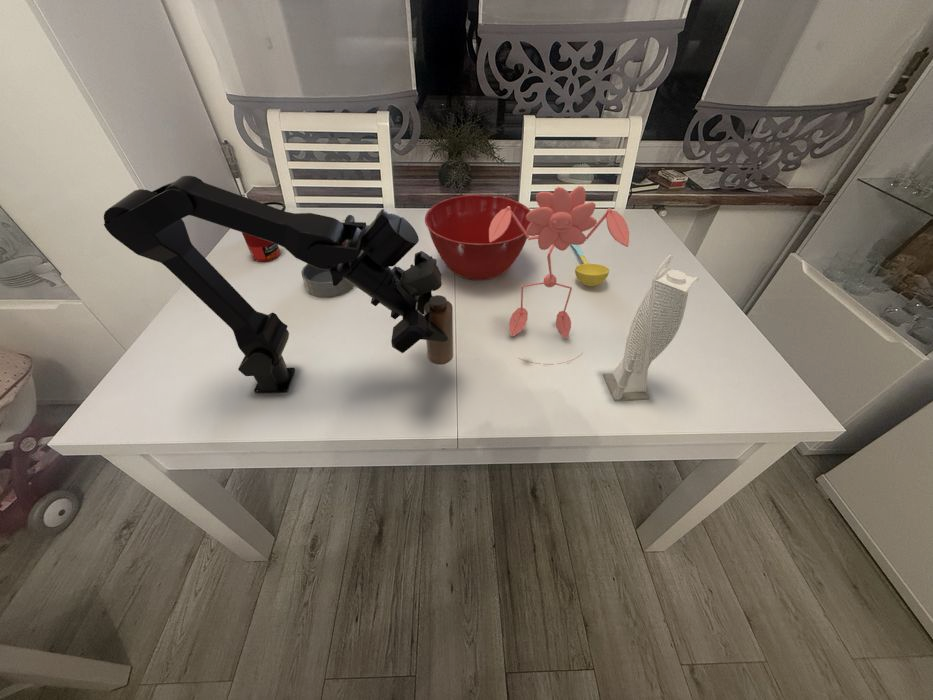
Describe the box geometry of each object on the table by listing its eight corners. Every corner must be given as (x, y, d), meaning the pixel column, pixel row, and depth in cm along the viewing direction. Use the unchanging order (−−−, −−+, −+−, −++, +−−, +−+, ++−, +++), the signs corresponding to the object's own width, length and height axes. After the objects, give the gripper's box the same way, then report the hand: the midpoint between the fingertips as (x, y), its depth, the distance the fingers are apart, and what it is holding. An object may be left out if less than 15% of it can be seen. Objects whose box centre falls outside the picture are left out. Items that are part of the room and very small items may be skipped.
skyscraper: (600, 370, 83) (643, 252, 63) (637, 368, 83) (691, 251, 64) (614, 401, 77) (666, 282, 57) (653, 399, 77) (718, 280, 58)
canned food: (272, 263, 112) (258, 227, 104) (246, 260, 113) (231, 224, 105) (286, 250, 117) (273, 215, 110) (262, 247, 118) (248, 212, 111)
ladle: (577, 291, 102) (580, 270, 99) (556, 259, 124) (557, 241, 121) (611, 290, 102) (615, 269, 99) (584, 258, 124) (586, 240, 121)
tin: (351, 297, 101) (348, 282, 97) (300, 298, 100) (295, 283, 97) (359, 269, 110) (356, 255, 107) (312, 270, 109) (308, 256, 106)
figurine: (485, 316, 95) (493, 167, 71) (592, 325, 93) (638, 175, 69) (479, 361, 84) (486, 203, 60) (600, 372, 82) (658, 213, 58)
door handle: (391, 215, 129) (341, 214, 128) (388, 245, 115) (331, 244, 113) (392, 224, 132) (343, 223, 130) (388, 255, 117) (333, 254, 116)
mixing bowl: (414, 288, 104) (409, 234, 93) (444, 237, 124) (442, 188, 113) (519, 304, 99) (526, 250, 88) (532, 249, 119) (539, 199, 108)
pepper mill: (453, 364, 75) (452, 309, 65) (427, 365, 75) (422, 309, 65) (453, 346, 78) (452, 291, 69) (428, 347, 78) (423, 291, 69)
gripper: (405, 283, 53) (482, 341, 61) (413, 221, 67) (475, 275, 75) (357, 328, 59) (434, 376, 67) (374, 262, 72) (436, 308, 80)
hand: (446, 330), depth 72 cm, fingers closed on pepper mill, 5 cm apart
